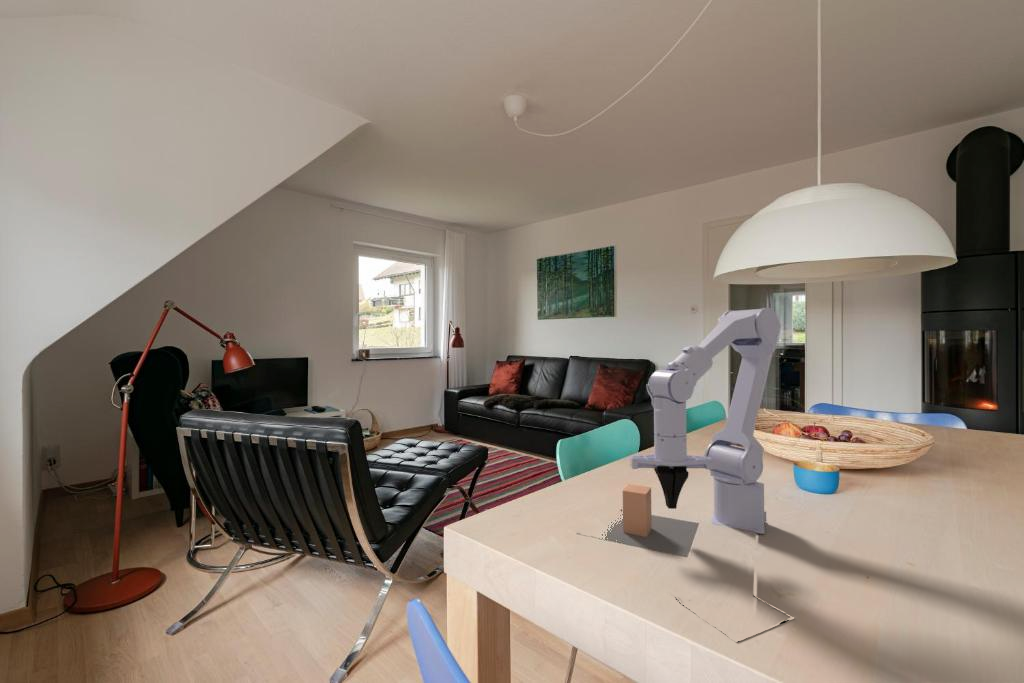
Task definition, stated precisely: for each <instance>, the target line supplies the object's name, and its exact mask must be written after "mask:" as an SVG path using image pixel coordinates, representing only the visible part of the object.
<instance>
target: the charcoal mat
mask: <svg viewBox="0 0 1024 683" xmlns="http://www.w3.org/2000/svg"><path fill="white" fill-rule="evenodd" d="M622 515H623V514H622ZM620 516H621V515H620ZM651 518H652V528H651V530H650V532H649V534H648V535H647V537H645V536H640V535H635V534H630V533H624V532H623V519H622V521H621V520H620V521H619V522H618V521H617V522H618V524H617V522H616V523H615V524H614V523H613V524H614V527H613V526H612V525H613V524H612V525H611V527H610V528H611V529H612V530H611V529H610V531H611V532H610V531H609V530H608V529H607V531H608V532H607V536H606V534H605V536H606V537H605V540H604V541H607V540H608V542H612V541H613V543H616V542H617V544H621V543H622V545H627V546H631V547H636V548H640V549H646V550H650V551H656V552H659V553H660V552H661V553H665V554H670V555H673V556H674V555H675V556H677V557H678V556H679V557H683V558H688V556H689V552H690V550H691V547H692V545H693V541H694V539H695V536H696V533H697V529H698V526H699V522H694V521H687V520H683V519H679V518H677V519H676V518H671V517H665V516H661V515H660V516H659V515H654V514H651ZM618 519H619V518H618ZM620 519H621V518H620ZM615 521H616V520H615ZM620 522H621V523H620ZM611 523H612V522H611ZM619 523H620V524H619ZM616 524H617V525H616ZM608 526H609V525H608ZM612 527H613V528H612ZM608 528H609V527H608ZM604 533H605V532H604ZM602 536H603V534H602ZM607 538H608V539H607ZM602 539H603V538H602ZM602 539H600V538H599V539H598V540H602ZM616 540H617V541H616Z"/></svg>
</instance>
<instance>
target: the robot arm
mask: <svg viewBox="0 0 1024 683" xmlns="http://www.w3.org/2000/svg"><path fill="white" fill-rule="evenodd" d="M781 326H782V325H781V323H780V320H779V317H778V315H777V313H776V311H775V310H773V309H772V308H770V307H762V308H757V309H756V308H753V309H743V310H742V309H741V310H733V309H731V310H727V311H725V312H724V313H723V314H722V315H721V316H719V317H718V319H717V324H716V326H715V327H714V328H712V330H711V331H710V332H709V334H707V336H706V337H705V338H704V339H703V340H702V341H701V342H700V343H699V345H690V346H685V347H683V348H682V351H681V353H680V354H679V355H678V356H677V357H675V359H674V360H673V361H669V362H668V363H667V366H666V367H665V368H664V369H657V370H655V371H654V372H652V374H651V376H650V377H649V378H648V382H647V384H645V386H646V391H647V393H648V396H649V397H650V400H651V406H652V408H653V433H654V434H653V440H654V441H653V445H654V447H653V448H654V451H653V452H654V454H645V455H631V456H629V459H630V460H629V462H630V467H631V469H632V470H637V469H653V470H654V472H655V474H656V476H657V479H658V481H659V483H660V486H661V489H662V492H663V496H664V500H665V506H666V507H667V508H668V509H671V510H672V509H673V510H674V509H675V510H676V509H677V506H678V500H679V498H680V494H681V492H682V489H683V487H684V485H685V483H686V481H688V478H689V471H688V470H687V469H705V470H708V471H709V472H710V476H712V477H713V511H712V512H713V513H712V516H711V519H710V523H709V524H712V525H718V526H723V527H729V528H735V529H739V530H747V531H752V532H755V534H758V535H759V534H760V535H765V522H767V511H765V483H764V482H760V481H758V480H759V479H760V477H761V476H762V474H763V470H764V459H763V458H764V456H763V455H764V450H765V447H763V445H762V444H761V443H760V441H759V440H758V439H757V438H755V436H754V433H755V428H756V425H757V420H758V416H759V412H760V409H761V403H762V399H763V395H764V392H765V387H766V382H767V379H768V374H769V372H770V371H769V370H770V366H771V362H772V357H773V353H774V352H775V351H776V347H777V343H778V340H779V336H780V335H779V334H780V331H781ZM729 345H730V346H731V347H732V349H733V350H734V351H735V352H737V353H739V354H740V355H741V362H740V365H739V370H738V373H737V378H736V381H735V382H736V383H735V386H734V389H733V393H732V398H731V402H730V406H729V410H728V414H727V418H726V421H725V426H724V427H723V428H722V429H721V430H719V431H717V432H715V433H714V434H712V437H711V441H710V443H709V445H708V446H707V447H706V449H705V451H704V456H702V455H701V456H700V455H689V454H688V451H687V450H688V448H687V444H688V442H687V438H688V437H687V401H688V400H690V399H691V398H692V396H693V394H694V391H695V386H697V382H698V381H699V380H700V379H701V378H702V377H703V376H705V374H706V373H707V372H709V371H710V369H711V368H712V367H713V359H714V358H715V357H716V355H718V354H719V353H721V351H724V349H726V348H727V347H728V346H729Z"/></svg>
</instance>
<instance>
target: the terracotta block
mask: <svg viewBox="0 0 1024 683" xmlns="http://www.w3.org/2000/svg"><path fill="white" fill-rule="evenodd" d="M622 510H623V532H624V533H630V534H635V535H640V536H645V537H647V535H648V534H649V532H650V530H651V528H652V518H651V515H652V487H650V486H644V485H638V484H631V483H629V484H627V485H626V486H625V487H624V488H623V490H622Z"/></svg>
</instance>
